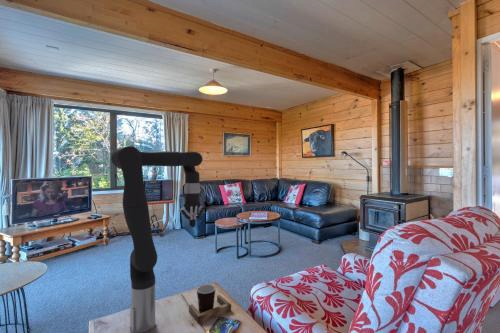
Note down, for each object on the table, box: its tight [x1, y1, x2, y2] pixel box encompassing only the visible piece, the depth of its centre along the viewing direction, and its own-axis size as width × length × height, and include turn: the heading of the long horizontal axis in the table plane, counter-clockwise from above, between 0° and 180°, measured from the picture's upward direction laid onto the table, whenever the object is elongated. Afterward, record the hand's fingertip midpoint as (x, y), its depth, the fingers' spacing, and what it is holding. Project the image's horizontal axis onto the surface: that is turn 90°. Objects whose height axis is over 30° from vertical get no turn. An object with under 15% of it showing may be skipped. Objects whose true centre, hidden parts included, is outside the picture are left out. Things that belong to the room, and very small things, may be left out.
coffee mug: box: [196, 284, 216, 313], centre depth 116 cm, size 12×9×10 cm
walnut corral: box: [188, 294, 232, 324], centre depth 114 cm, size 16×11×3 cm
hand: (192, 227), depth 123 cm, fingers closed
